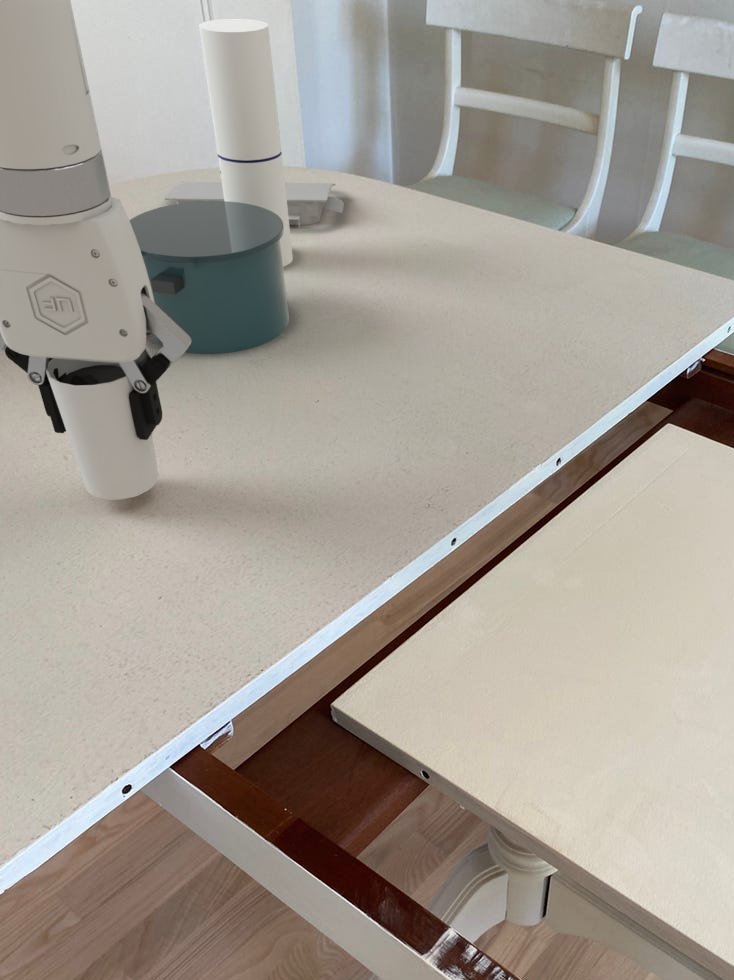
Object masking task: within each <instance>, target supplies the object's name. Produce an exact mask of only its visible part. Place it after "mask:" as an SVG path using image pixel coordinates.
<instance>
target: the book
mask: <svg viewBox="0 0 734 980" xmlns="http://www.w3.org/2000/svg"><path fill="white" fill-rule="evenodd" d="M335 186H336V183H334V182H332V183H331V182H285V189H286V198H287V207H288V217H289V226H298V229H299V230H300V229H301V226H302V225H313V224H315V223H318V222H320V221H321V216H322V212H323V209H325V210H329V211H333V212H337V213H339V214H343V213H344V212H343V211H344V207H345V202H344V201H343V200H342V199H340V198H338V197H334V196H329V195H330V192H331V190H332V188H333V187H335ZM164 200H165V201H177V202H176V203H175V204H180V203H188V202H199V201H224V194H223V187H222V181H181V182H178V183H177V184H175V185H174V186H173V187H172V188H171V189H170V190H169V191H168V192H167V194H166V195H165V197H164Z"/></svg>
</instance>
